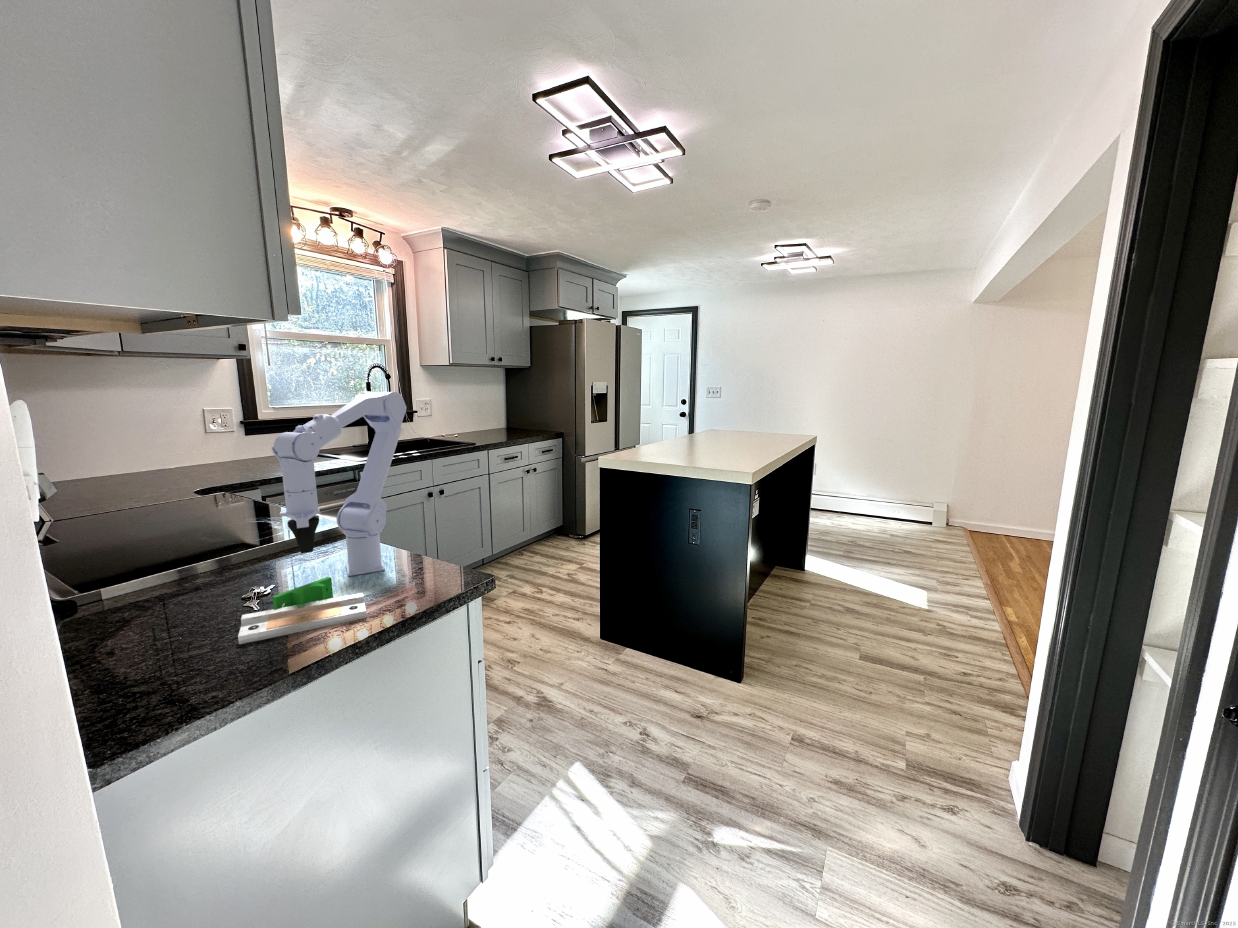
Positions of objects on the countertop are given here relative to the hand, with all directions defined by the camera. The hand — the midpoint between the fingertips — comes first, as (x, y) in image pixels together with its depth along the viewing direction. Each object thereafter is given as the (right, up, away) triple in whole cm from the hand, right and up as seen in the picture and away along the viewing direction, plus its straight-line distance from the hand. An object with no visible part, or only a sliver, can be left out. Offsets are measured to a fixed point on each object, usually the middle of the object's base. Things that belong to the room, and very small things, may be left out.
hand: (306, 551), depth 107 cm
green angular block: (+4, -11, -5) cm, 13 cm away
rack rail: (+7, -11, -11) cm, 18 cm away
